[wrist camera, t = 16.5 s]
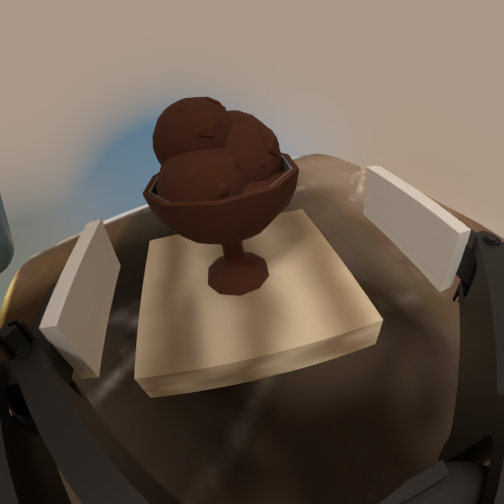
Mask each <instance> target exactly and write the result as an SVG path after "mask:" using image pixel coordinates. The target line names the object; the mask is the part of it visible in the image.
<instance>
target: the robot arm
mask: <svg viewBox="0 0 504 504" xmlns="http://www.w3.org/2000/svg"><path fill="white" fill-rule="evenodd" d="M363 214H364V215H365V216H366V217H367V218H368V219H369V220H370V221H371V222H372V223H373V224H374V225H376V226H377V227H378V228H379V229H380V230H381V231H382V232H383V233H384V234H385V235H386V236H387V237H388V238H389V239H390V240H391V241H392V242H393V243H394V244H395V245H396V246H397V247H398V248H399V249H400V250H401V251H402V252H403V253H404V254H405V255H406V256H407V257H408V258H409V259H410V260H411V261H412V262H413V263H414V264H415V265H416V267H417V268H418V269H419V270H420V271H421V272H422V273H423V274H424V275H425V276H426V277H427V278H428V279H429V281H430V282H431V283H432V284H433V285H434V286H435V287H436V288H437V289H438V291H439V292H441V291H443V290H445V289H447V288H450V287H452V285H453V282H454V279H455V277H456V275H457V276H458V277H459V278H460V279H461V280H460V283H459V285H458V288H457V290H456V293H455V295H454V297H453V301H455V300H456V298H457V297H458V296H459V300H458V302H459V307H460V357H459V374H458V386H457V396H456V404H455V411H454V418H453V424H452V430H451V433H450V436H449V438H448V440H447V441H446V443H445V445H444V446H443V449H442V451H441V453H440V457H439V460H438V462H437V463H435V464H434V465H432V466H430V467H428V468H426V469H424V470H423V471H421V472H419V473H417V474H415V475H413V476H411V477H409V478H407V479H405V480H403V481H401V482H399V483H397V484H395V485H393V486H391V487H389V488H387V489H385V490H383V491H381V492H379V493H377V494H376V495H375V496H373V497H372V498H371V499H369V500H368V501H366V502H365V503H363V504H504V242H502V241H501V240H500V239H499V238H498V237H497V236H495V235H494V234H492V233H489V232H486V231H480V232H478V233H476V232H474V231H473V230H472V229H471V228H470V227H468V226H467V225H466V224H464V223H463V222H462V221H461V220H459V219H457V217H455V216H454V215H453V214H450V212H449V211H447V210H446V209H445V208H443V207H441V206H439V205H438V204H437V203H435V202H434V201H432V200H431V199H430V198H428V197H427V196H425V195H424V194H422V193H421V192H419V191H418V190H416V189H415V188H413V187H412V186H410V185H409V184H407V183H406V182H404V181H403V180H401V179H399V178H398V177H396V176H395V175H393V174H391V173H390V172H388V171H386V170H385V169H383V168H381V167H380V166H370V167H366V185H365V200H364V213H363ZM13 254H14V244H13V240H12V236H11V232H10V228H9V224H8V221H7V217H6V214H5V210H4V206H3V202H2V199H1V194H0V273H1V272H3V271H4V270H5V269H6V268H7V267H8V265H9V264H10V262H11V260H12V257H13ZM120 266H121V265H120V263H119V261H118V258H117V256H116V254H115V252H114V249H113V247H112V244H111V242H110V240H109V237H108V235H107V232H106V230H105V227H104V225H103V222H102V219H99V220H95V221H92V222H89V223H87V225H86V227H85V228H84V230H83V232H82V234H81V236H80V238H79V240H78V241H77V243H76V245H75V247H74V249H73V251H72V253H71V255H70V257H69V259H68V261H67V263H66V265H65V267H64V269H63V271H62V274H61V276H60V278H59V280H58V282H57V284H54V285H53V286H52V288H51V289H50V290H49V291H48V293H47V294H46V297H45V299H44V301H43V304H42V306H41V308H40V312H39V313H38V316H37V318H36V321H35V323H34V326H33V328H32V331H30V330H29V329H28V327H27V326H26V325H25V324H24V322H23V321H22V320H21V319H19V318H15V319H12V320H10V321H9V322H7V323H6V324H5V325H4V326H3V327H2V328H1V330H0V349H1V350H2V351H3V353H4V354H5V355H6V356H7V357H8V358H9V359H7V360H5V361H3V362H0V504H71V501H70V499H69V497H68V494H67V492H66V490H65V487H64V485H63V482H62V479H61V477H60V474H59V471H58V468H57V466H58V467H59V469H60V471H61V472H62V474H63V476H64V477H65V479H66V480H67V482H68V483H69V485H70V486H71V488H72V489H73V491H74V492H75V494H76V495H77V497H78V498H79V499H80V501H81V502H82V504H181V503H180V502H179V501H178V500H177V499H176V498H175V497H173V496H172V495H171V494H170V493H169V492H168V491H167V490H166V489H165V488H164V487H162V486H161V485H160V484H159V483H158V482H157V481H156V480H155V479H154V478H153V477H152V476H151V475H150V474H149V473H148V472H147V471H146V470H145V469H144V468H143V467H142V466H141V465H140V464H139V463H138V461H137V460H136V459H135V458H134V457H133V456H132V455H131V454H130V453H129V452H128V450H127V449H126V448H125V447H124V446H123V445H122V444H121V442H120V441H119V440H118V439H117V438H116V436H115V435H114V434H113V433H112V432H111V430H110V429H109V428H108V427H107V425H106V424H105V423H104V421H103V420H102V419H101V418H100V416H99V415H98V414H97V412H96V411H95V409H94V408H93V407H92V405H91V404H90V402H89V401H88V400H87V398H86V397H85V395H84V394H83V392H82V391H81V389H80V388H79V386H78V385H77V383H76V382H75V381H74V380H73V379H72V374H73V370H74V371H75V372H76V373H77V374H78V375H79V376H80V377H81V378H82V379H84V378H97V377H99V372H100V365H101V358H102V352H103V346H104V340H105V334H106V329H107V324H108V318H109V313H110V309H111V304H112V299H113V295H114V291H115V286H116V282H117V278H118V274H119V270H120ZM9 409H10V410H11V411H12V416H11V415H10V412H9ZM489 459H490V464H489V467H488V466H485V465H482V464H483V463H484V462H485V461H487V460H489ZM55 462H56V463H55ZM56 464H57V466H56Z"/></svg>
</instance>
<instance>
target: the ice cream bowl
mask: <svg viewBox="0 0 504 504" xmlns="http://www.w3.org/2000/svg"><path fill="white" fill-rule="evenodd" d="M153 149H154V152H155V154H156V157H157V159H158V161H159V162H160V164H161V168H160V172H159V173H158V174H156V175H154V176H153V177H152V178H151V180H150V182H149V183H148V185H147V187H146V189H145V190H144V192H143V195H144V197H145V199H146V201H147V203H148V205H149V207H150V209H151V210H152V212H153V213H154V214H155V215H156V216H157V217H158V218H159V219H160V220H161V221H162V222H163V223H164V224H165V225H167V226H168V227H169V228H171V229H172V230H174V231H175V232H177V233H178V234H179V235H181V236H182V237H184V238H186V239H189V240H191V241H194V242H196V243H200V244H217V245H222V248H223V254H224V256H221V257H219V258H218V259H217V260H216V261H215V262H214V263H213V264H212V265H211V266H210V267H209V268H208V285H209V286H210V287H211V288H212V289H214V290H215V291H216V292H217V293H219V294H222V295H234V296H241V295H244V294H246V293H249V292H252V291H254V290H257V289H259V288H260V287H261V286H262V285H263V283H264V282H265V281H266V279H267V278H268V277H269V272H268V267H267V263H266V261H265V259H263V258H262V257H260V256H258V255H256V254H254V253H253V252H244V249H243V244H242V242H243V240H246V239H249V238H252V237H254V236H256V235H258V234H260V233H261V232H262V231H263V230H264V229H265V228H266V227H267V226H268V225H269V224H270V223H271V222H272V221H273V220H274V219H275V218H276V217H277V216H278V215H279V214H280V213H281V212H282V210H283V209H284V208H285V207H286V206H287V205H288V204H289V203H290V200H291V198H292V196H293V194H294V191H295V189H296V185H297V178H298V172H299V168H298V166H297V165H296V164H295V163H294V161H293V160H292V159H291V157H290V156H289V155H288V154H284V153H280V149H279V143H278V140H277V137H276V136H275V134H274V133H273V131H272V130H271V129H269V128H268V127H267V126H265V125H264V124H263V123H262V122H260V121H259V120H258V119H257V118H255V117H254V116H253V115H250V114H247V113H244V112H241V111H234V110H233V111H226V109H225V107H224V106H222V105H221V103H220V102H219V101H217V100H214V99H212V98H209V97H194V98H184V99H181V100H179V101H177V102H175V103H173V104H171V105H170V106H169V107H167V108H166V109H165V110H164V111H163V113H162V114H161V115H160V117H159V118H158V120H157V123H156V127H155V130H154V133H153Z"/></svg>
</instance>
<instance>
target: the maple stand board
mask: <svg viewBox="0 0 504 504" xmlns="http://www.w3.org/2000/svg"><path fill="white" fill-rule="evenodd" d="M242 244H243V249H244V252H253V253H254V254H256V255H258V256H260V257H262V258H263V259H265V261H266V263H267V267H268V272H269V277H268V278H267V279H266V281H265V282H264V283H263V285H262V286H261V287H260V288H259V289H257V290H254V291H252V292H249V293H246V294H244V295H241V296H234V295H222V294H219V293H217V292H216V291H215V290H214V289H212V288H211V287H210V286H209V285H208V268H209V267H210V266H211V265H212V264H213V263H214V262H215V261H216V260H217V259H218V258H219V257H221V256H224V254H223V248H222V245H217V244H200V243H196V242H194V241H191V240H189V239H186V238H184V237H182V236H181V235H179V234H177V235H173V236H168V237H164V238H159V239H155V240H151V241H150V243H149V249H148V255H147V261H146V268H145V274H144V281H143V288H142V296H141V304H140V313H139V322H138V332H137V344H136V357H135V374H134V379H135V380H136V381H137V383H138V384H139V385H140V386H141V387H142V389H143V390H144V391H145V392H146V393H147V394H148V396H149V397H150V398H154V397H162V396H170V395H178V394H185V393H191V392H197V391H203V390H209V389H215V388H220V387H225V386H230V385H235V384H240V383H245V382H249V381H254V380H258V379H262V378H267V377H271V376H275V375H279V374H282V373H286V372H290V371H294V370H297V369H301V368H304V367H308V366H311V365H315V364H318V363H321V362H324V361H328V360H331V359H334V358H337V357H340V356H343V355H346V354H349V353H352V352H355V351H358V350H360V349H363V348H366V347H369V346H371V345H374V344H376V341H377V338H378V335H379V332H380V328H381V325H382V322H383V319H382V317H381V316H380V314H379V313H378V311H377V310H376V308H375V307H374V305H373V304H372V303H371V301H370V300H369V298H368V297H367V295H366V294H365V292H364V291H363V290H362V288H361V287H360V285H359V284H358V283H357V281H356V280H355V278H354V277H353V276H352V274H351V273H350V271H349V270H348V269H347V267H346V266H345V265H344V263H343V262H342V260H341V259H340V258H339V256H338V255H337V254H336V252H335V251H334V250H333V248H332V247H331V246H330V244H329V243H328V242H327V240H326V239H325V238H324V236H323V235H322V234H321V233H320V231H319V230H318V229H317V227H316V226H315V225H314V224H313V222H312V221H311V220H310V218H309V217H308V216H307V215H306V213H305V212H304V211H303V210H302V209H299V210H294V211H288V212H283V213H280V214H279V215H278V216H277V217H276V218H275V219H274V220H273V221H272V222H271V223H270V224H269V225H268V226H267V227H266V228H265V229H264V230H263V231H262V232H261V233H260V234H258V235H256V236H254V237H252V238H249V239H246V240H243V242H242Z"/></svg>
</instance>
